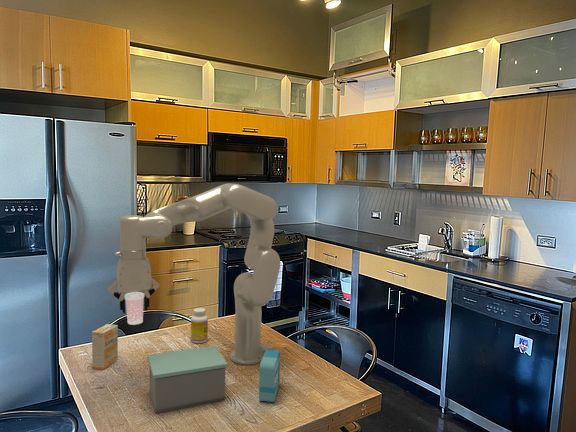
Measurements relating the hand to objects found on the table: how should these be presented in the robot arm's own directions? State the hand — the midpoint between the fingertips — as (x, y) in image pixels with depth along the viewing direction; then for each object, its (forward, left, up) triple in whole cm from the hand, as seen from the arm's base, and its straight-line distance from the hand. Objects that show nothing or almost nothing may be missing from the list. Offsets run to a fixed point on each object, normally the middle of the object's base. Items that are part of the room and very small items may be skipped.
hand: (134, 310), depth 137 cm
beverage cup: (0, 0, -4) cm, 4 cm away
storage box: (-14, +15, -23) cm, 31 cm away
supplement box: (+8, -16, -24) cm, 30 cm away
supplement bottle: (-27, -26, -24) cm, 44 cm away
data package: (-38, +23, -24) cm, 50 cm away
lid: (-14, +15, -13) cm, 24 cm away
